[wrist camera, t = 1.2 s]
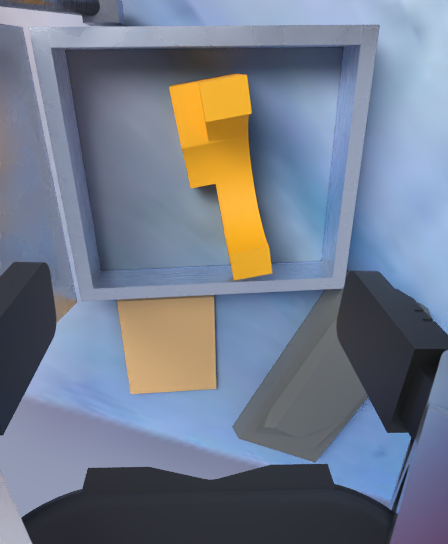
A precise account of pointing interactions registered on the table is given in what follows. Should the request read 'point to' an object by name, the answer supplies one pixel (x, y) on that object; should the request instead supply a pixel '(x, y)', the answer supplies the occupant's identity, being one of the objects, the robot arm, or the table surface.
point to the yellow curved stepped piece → (224, 162)
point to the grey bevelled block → (306, 389)
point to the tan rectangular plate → (169, 343)
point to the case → (58, 39)
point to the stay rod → (56, 6)
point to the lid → (28, 176)
